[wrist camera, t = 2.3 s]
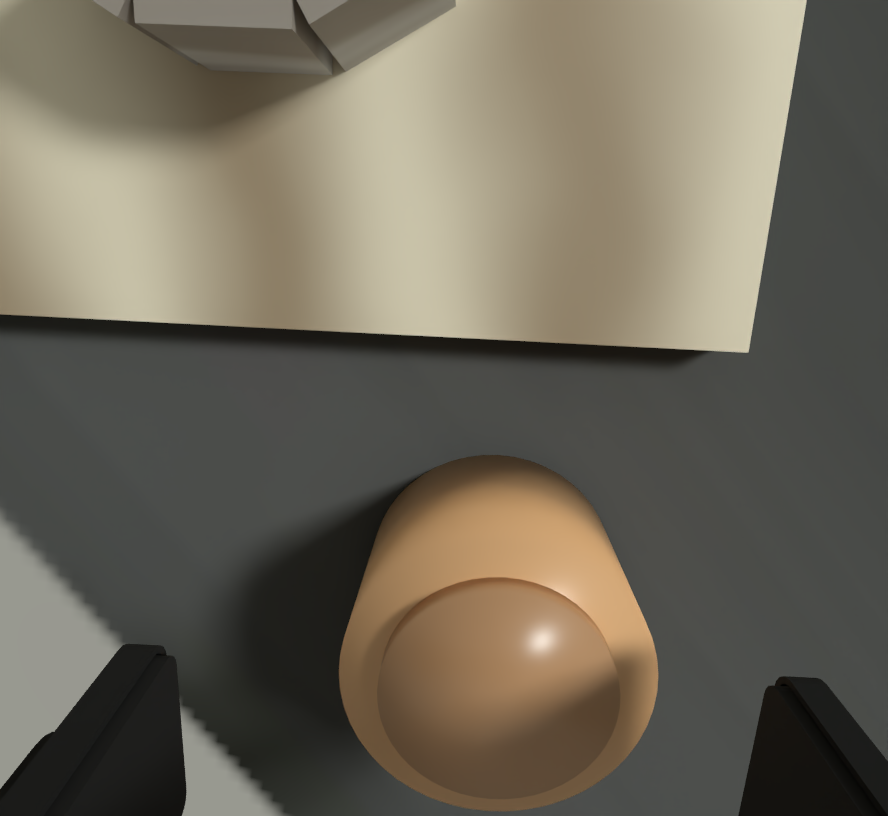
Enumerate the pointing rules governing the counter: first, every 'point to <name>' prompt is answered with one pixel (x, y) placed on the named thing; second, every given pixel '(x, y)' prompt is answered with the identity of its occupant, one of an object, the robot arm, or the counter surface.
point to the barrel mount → (396, 164)
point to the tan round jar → (496, 640)
